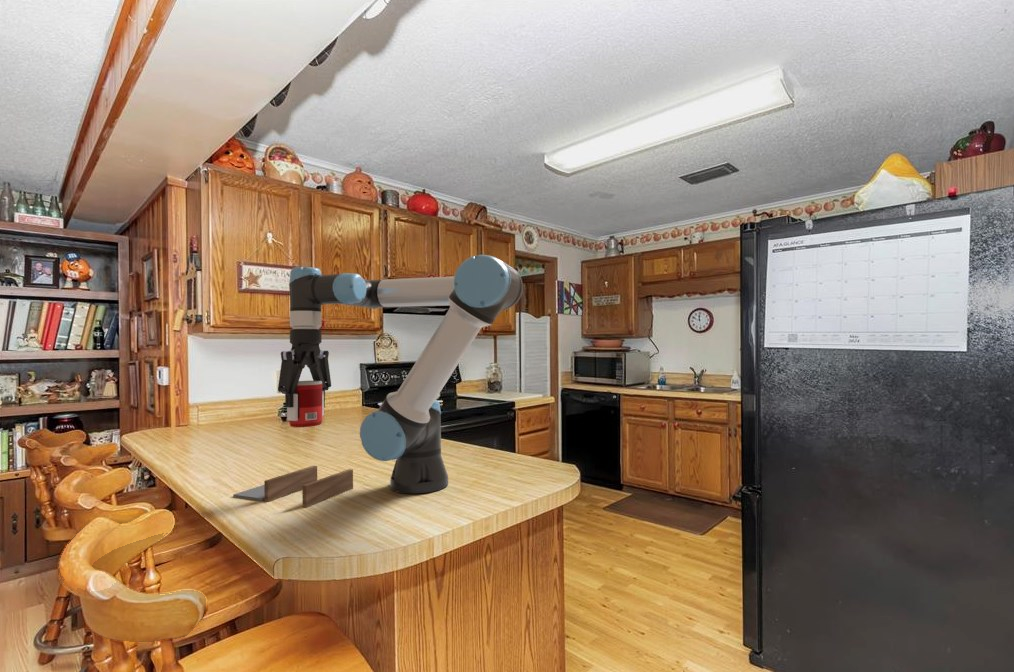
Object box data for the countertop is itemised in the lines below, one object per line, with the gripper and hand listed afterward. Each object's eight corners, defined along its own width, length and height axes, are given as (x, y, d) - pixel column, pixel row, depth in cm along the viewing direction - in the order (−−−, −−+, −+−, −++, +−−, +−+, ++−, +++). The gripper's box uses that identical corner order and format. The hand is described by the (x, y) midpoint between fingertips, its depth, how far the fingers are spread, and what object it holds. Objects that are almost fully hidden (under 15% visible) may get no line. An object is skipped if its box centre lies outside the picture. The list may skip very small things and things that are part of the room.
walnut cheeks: (353, 488, 129) (352, 469, 129) (306, 507, 114) (306, 485, 114) (314, 483, 134) (313, 465, 134) (264, 501, 119) (264, 480, 119)
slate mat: (294, 489, 129) (294, 487, 129) (262, 501, 120) (262, 498, 120) (266, 486, 133) (266, 484, 133) (233, 496, 123) (233, 494, 123)
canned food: (327, 422, 128) (327, 380, 128) (312, 427, 120) (312, 382, 120) (299, 422, 129) (299, 380, 129) (283, 427, 121) (282, 382, 121)
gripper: (324, 329, 136) (324, 412, 136) (260, 327, 117) (260, 423, 116) (345, 329, 133) (346, 413, 133) (283, 326, 114) (283, 425, 114)
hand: (306, 417), depth 125 cm, fingers closed on canned food, 8 cm apart
